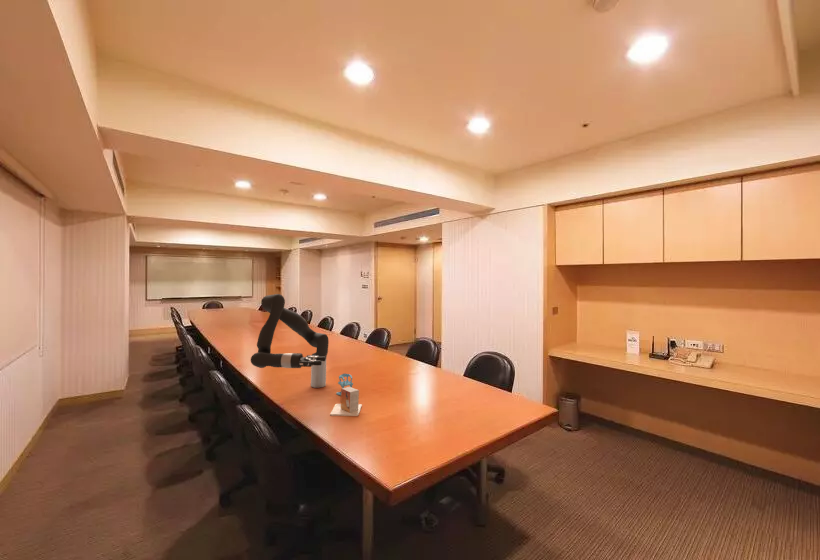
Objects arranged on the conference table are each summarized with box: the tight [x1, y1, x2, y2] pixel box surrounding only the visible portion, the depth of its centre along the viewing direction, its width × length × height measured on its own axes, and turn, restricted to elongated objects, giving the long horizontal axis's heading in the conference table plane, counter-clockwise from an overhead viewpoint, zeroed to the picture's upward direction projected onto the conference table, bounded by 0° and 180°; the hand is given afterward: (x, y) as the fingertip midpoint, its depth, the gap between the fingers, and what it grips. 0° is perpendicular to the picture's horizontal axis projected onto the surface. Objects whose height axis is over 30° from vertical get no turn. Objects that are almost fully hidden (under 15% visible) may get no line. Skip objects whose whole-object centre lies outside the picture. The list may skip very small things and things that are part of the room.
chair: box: [336, 373, 354, 396], centre depth 199 cm, size 8×8×12 cm
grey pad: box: [329, 403, 363, 417], centre depth 175 cm, size 14×14×1 cm
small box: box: [340, 386, 360, 413], centre depth 174 cm, size 8×6×10 cm
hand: (323, 360), depth 175 cm, fingers open, 8 cm apart
